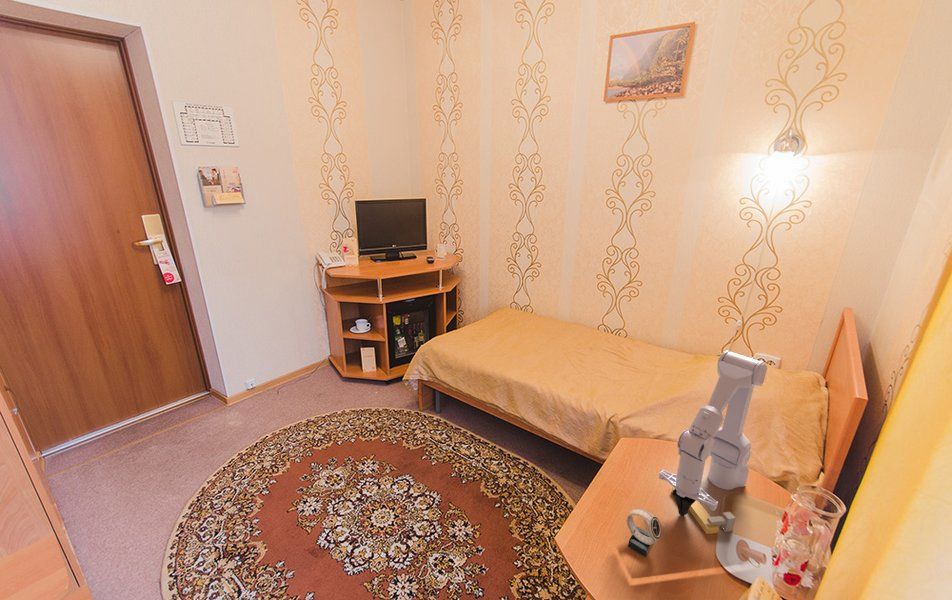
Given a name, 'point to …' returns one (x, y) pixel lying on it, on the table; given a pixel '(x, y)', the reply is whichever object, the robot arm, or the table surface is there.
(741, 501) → the table surface
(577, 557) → the table surface
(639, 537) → the watch
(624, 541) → the table surface
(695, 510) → the link
